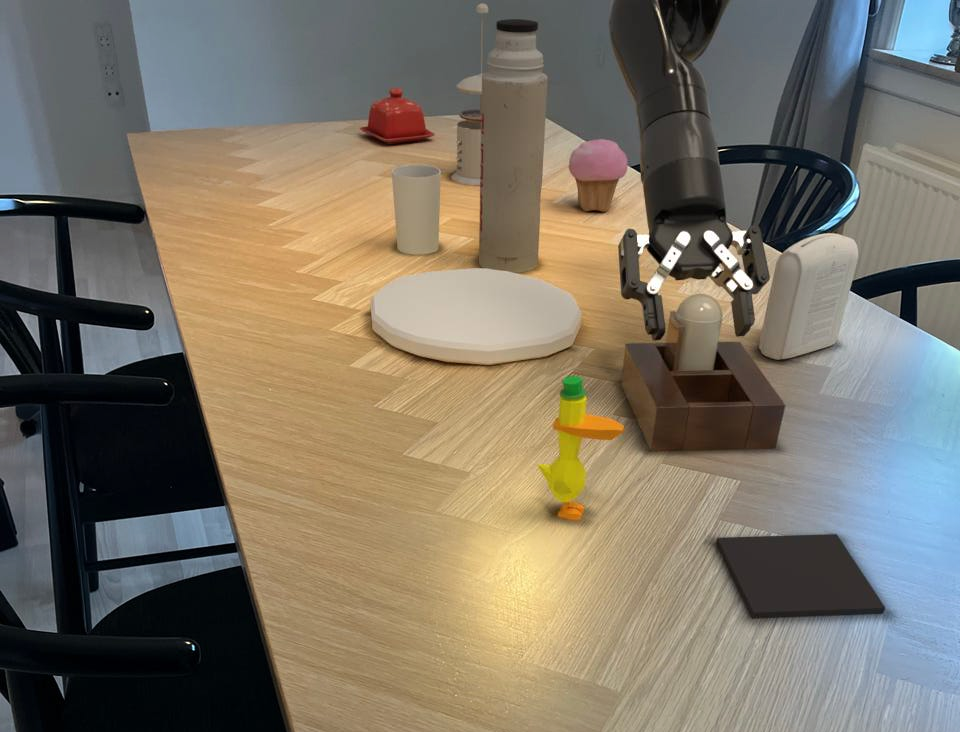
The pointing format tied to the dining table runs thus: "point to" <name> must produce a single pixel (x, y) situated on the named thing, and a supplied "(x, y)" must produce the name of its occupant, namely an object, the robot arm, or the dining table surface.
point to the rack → (701, 401)
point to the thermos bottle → (512, 149)
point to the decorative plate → (475, 316)
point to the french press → (470, 127)
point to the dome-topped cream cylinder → (693, 334)
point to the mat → (798, 576)
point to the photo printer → (808, 296)
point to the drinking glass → (417, 208)
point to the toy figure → (574, 446)
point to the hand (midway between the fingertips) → (701, 335)
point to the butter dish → (396, 120)
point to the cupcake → (597, 172)
